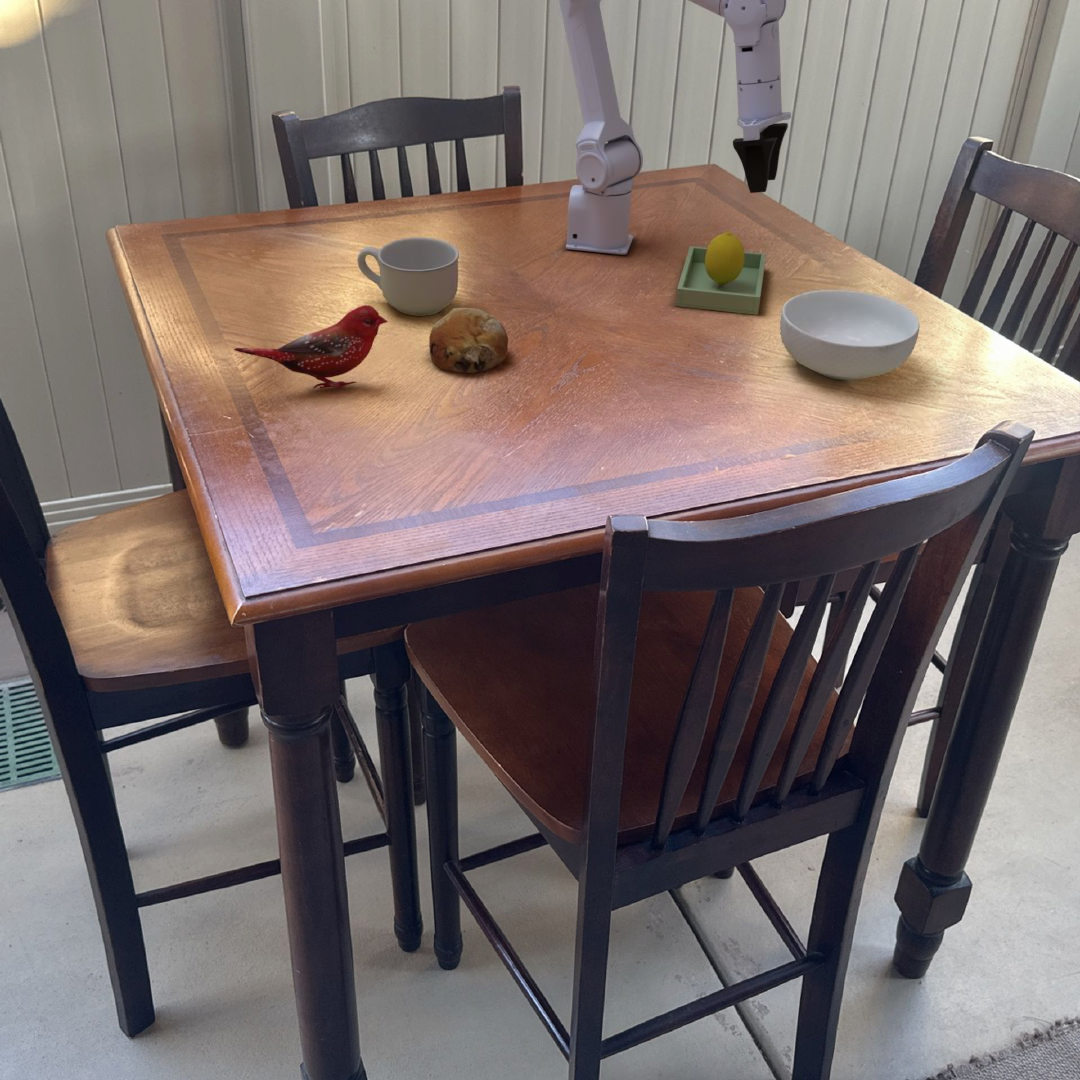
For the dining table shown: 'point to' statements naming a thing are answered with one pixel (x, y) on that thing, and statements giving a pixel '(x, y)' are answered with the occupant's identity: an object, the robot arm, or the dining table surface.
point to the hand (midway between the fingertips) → (763, 185)
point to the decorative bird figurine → (329, 347)
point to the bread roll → (468, 341)
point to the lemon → (724, 258)
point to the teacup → (415, 274)
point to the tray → (730, 297)
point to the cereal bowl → (848, 333)
